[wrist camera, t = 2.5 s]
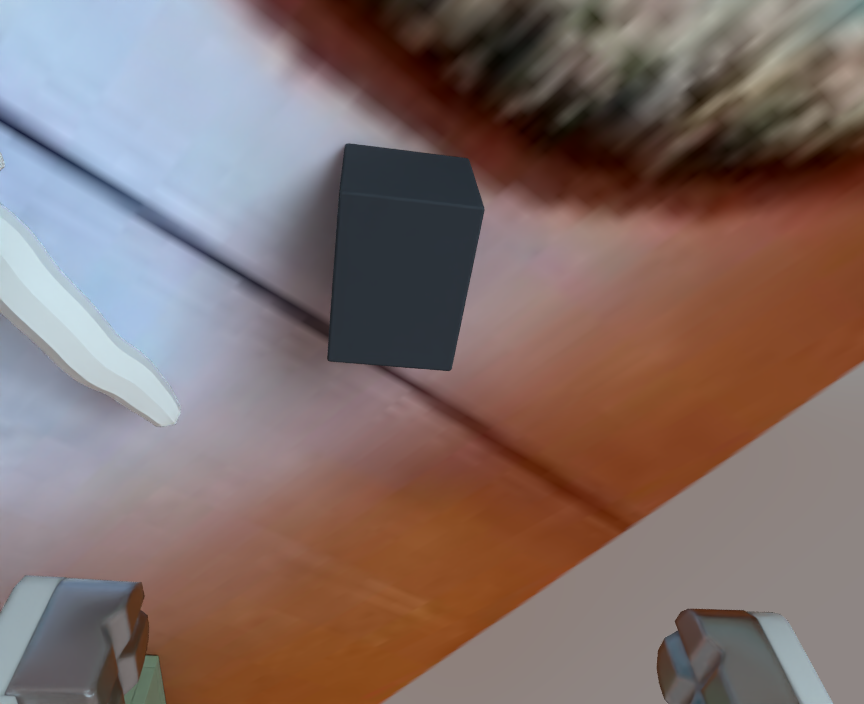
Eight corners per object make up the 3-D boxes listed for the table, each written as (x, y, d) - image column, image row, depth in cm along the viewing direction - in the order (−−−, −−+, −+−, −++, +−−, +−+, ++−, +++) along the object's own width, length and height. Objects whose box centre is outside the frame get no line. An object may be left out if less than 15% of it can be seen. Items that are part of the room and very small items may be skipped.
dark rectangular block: (334, 297, 21) (327, 362, 18) (345, 141, 18) (339, 191, 15) (441, 307, 22) (451, 372, 19) (469, 157, 19) (485, 208, 16)
